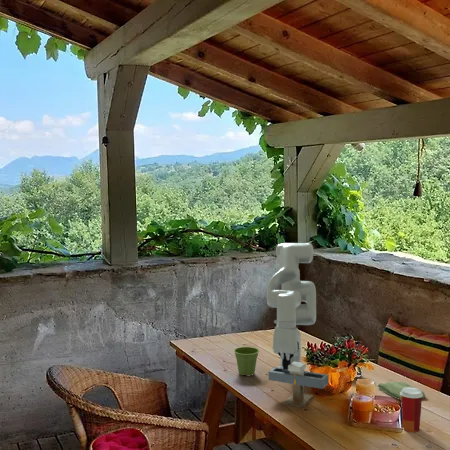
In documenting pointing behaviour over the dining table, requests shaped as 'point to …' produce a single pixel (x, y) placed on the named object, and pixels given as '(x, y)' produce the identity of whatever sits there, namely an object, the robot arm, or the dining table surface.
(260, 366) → the dining table surface
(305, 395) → the balance beam
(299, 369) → the rider
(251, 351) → the plant pot
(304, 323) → the robot arm
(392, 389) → the washcloth
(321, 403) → the dining table surface
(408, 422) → the paper cup
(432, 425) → the dining table surface
